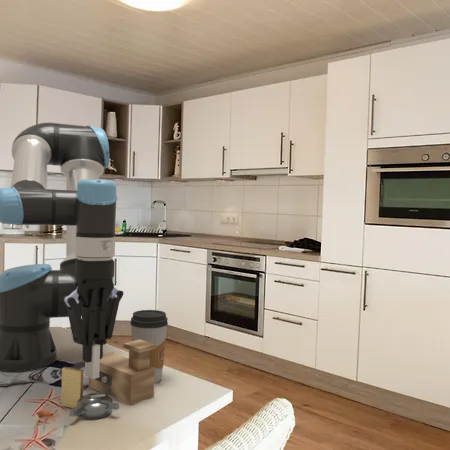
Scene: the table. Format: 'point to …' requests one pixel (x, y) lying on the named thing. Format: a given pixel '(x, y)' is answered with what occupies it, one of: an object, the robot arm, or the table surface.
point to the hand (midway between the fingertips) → (92, 376)
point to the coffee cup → (151, 335)
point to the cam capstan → (84, 397)
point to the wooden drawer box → (127, 373)
